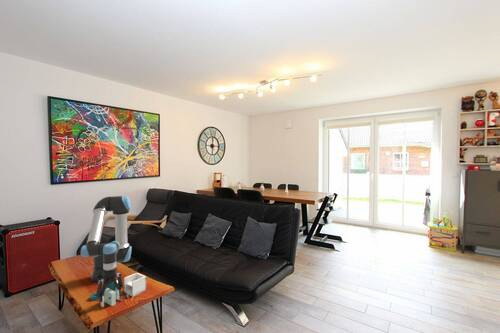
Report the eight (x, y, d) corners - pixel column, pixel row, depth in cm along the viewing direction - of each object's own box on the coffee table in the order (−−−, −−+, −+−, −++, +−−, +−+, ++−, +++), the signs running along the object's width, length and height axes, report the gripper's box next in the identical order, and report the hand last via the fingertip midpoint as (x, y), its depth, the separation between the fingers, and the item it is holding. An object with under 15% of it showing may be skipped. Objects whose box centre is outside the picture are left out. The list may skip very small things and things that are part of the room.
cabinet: (124, 291, 173) (123, 277, 173) (137, 285, 181) (137, 272, 181) (133, 296, 167) (132, 282, 167) (146, 290, 175) (146, 276, 175)
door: (102, 302, 160) (102, 290, 160) (108, 299, 163) (108, 288, 163) (110, 306, 155) (110, 294, 155) (115, 304, 158) (115, 292, 158)
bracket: (116, 287, 179) (116, 277, 179) (120, 290, 175) (120, 279, 175) (88, 298, 165) (88, 287, 164) (92, 302, 160) (92, 290, 160)
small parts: (112, 296, 167) (112, 281, 167) (119, 292, 171) (119, 278, 171) (121, 301, 161) (121, 286, 161) (128, 297, 165) (128, 283, 165)
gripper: (94, 276, 148) (95, 313, 148) (129, 263, 166) (129, 296, 166) (88, 273, 152) (89, 309, 152) (122, 261, 170) (123, 293, 170)
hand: (110, 302), depth 159 cm, fingers open, 9 cm apart
